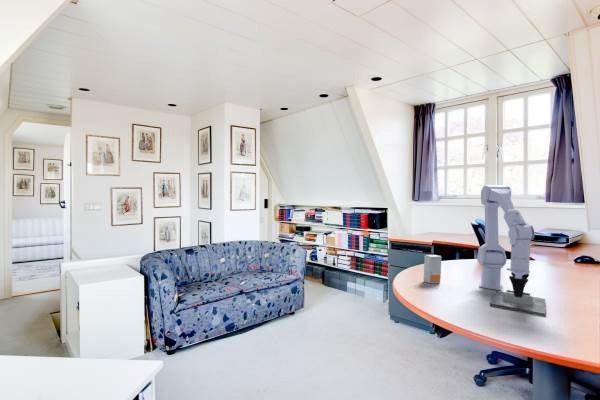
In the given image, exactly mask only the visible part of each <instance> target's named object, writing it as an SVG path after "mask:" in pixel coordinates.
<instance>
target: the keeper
mask: <svg viewBox="0 0 600 400" xmlns="http://www.w3.org/2000/svg"><path fill="white" fill-rule="evenodd" d="M489 307H493V308H499V309H502V310H503V309H504V310H508V311H514V312H519V313H524V314H528V315H534V316H539V317H544V318H545V317H546V315H547V314H546V313H547V312H546V309H547V308H546V299H545V298H541V297H536V296H535V297H534V296H533V305H528V304H522V303H517V302H511V301H506V300H503V291H501V290H495V292H494V294H493V297H492V298H491V300H490V302H489Z"/></svg>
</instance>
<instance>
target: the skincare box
mask: <svg viewBox="0 0 600 400" xmlns="http://www.w3.org/2000/svg"><path fill="white" fill-rule="evenodd" d="M442 258H443V256H441V255H437V254H425V255H424V261H423V262H424V265H423V281H424V282H425V283H427V282H428V283H427V284H440V283H441V277H442V275H441V274H442Z"/></svg>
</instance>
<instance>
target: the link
mask: <svg viewBox="0 0 600 400" xmlns="http://www.w3.org/2000/svg"><path fill="white" fill-rule="evenodd" d="M502 292H503V300H506V301H511V302H517V303H522V304H528V305H533V297H534V293H532V292H531V293H530V292H525V291H523V295H522V297H521V298H520V297H515V296H514V292H513V289H507V288H504V289H503V291H502Z"/></svg>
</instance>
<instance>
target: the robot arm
mask: <svg viewBox="0 0 600 400" xmlns="http://www.w3.org/2000/svg"><path fill="white" fill-rule="evenodd" d="M511 197H512V189H511V187H510V185H494V184H493V185H492V184H491V185H489V184H485V185H484V186H482V189H481V191H480V201H481V203H480V204H481V205H483V206H484V232H485V233H484V235H485V236H484V237H485V238H484V239H485V240H484V241H485V243H484V244H482V245H481V246H479V247H478V249H477V251H478V252H477V256H476V257H477V258H476V259H477V262H478V264H479V265H480V266H481V275H480V276H481V278H480V279H481V280H480V284H479V285H478V288H484V289H491V290H495V291H501V290H502V288H503V284H501V277H502V269H503V268H504V266H505V265H506V264H507V255H506V251H505V248H504V247H503V246H501V245H500V244H499V211H498V210H499V207H500V208H501V210H502V211H503V212H504V214H503V219H504V221H505V223H506V225H507V228H508V232H507V233H508V237H509V243H510V245H511V247H510V248H511V250H510V267H506V271H509V272H510V274H511V275H509V281H510V282H511V286H512V290H513V292H514V296H515V297H520V298H521V297H522V295H523V292H524V289H525V286H526V285H527V284H528V282H529V279H528V278H529V276H530V273H531V271H530V261H531V259H530V257H531V256H530V255H531V241H533V240H534V238H535V233H536V232H535V229H534V226H533V225H532V224H529V223H527V222H526V221H525V218H524V216H522V213H521V212H520V211H519V210H517V209H515V207H514V203H513V202H512V199H511Z"/></svg>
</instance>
